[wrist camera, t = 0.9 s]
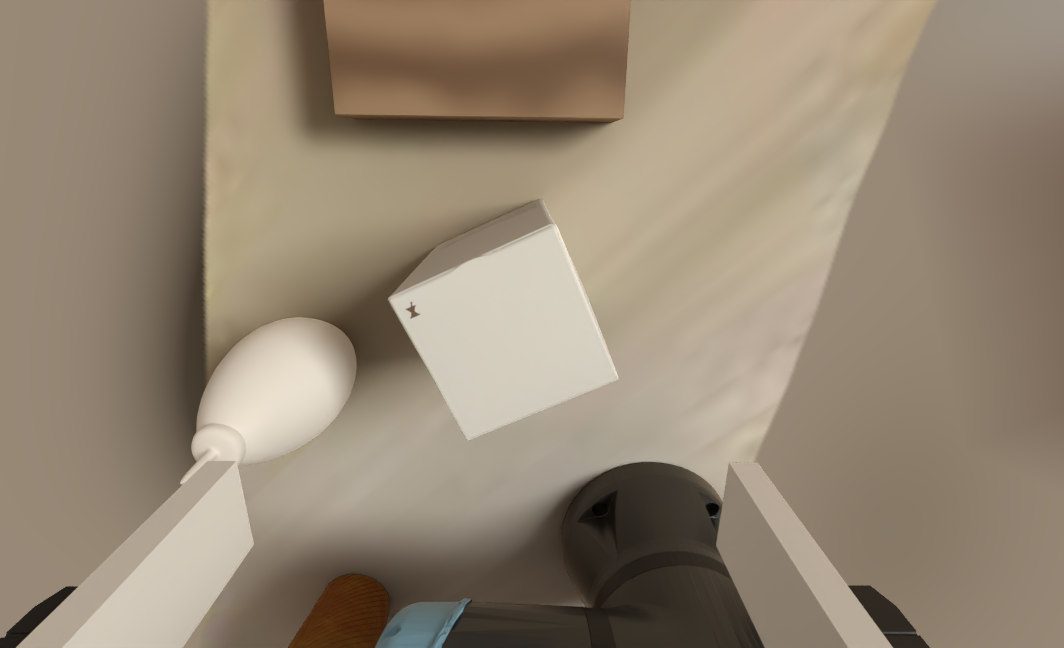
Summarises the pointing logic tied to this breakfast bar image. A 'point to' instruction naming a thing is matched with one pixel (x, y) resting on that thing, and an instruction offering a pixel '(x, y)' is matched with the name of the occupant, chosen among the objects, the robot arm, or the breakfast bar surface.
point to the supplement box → (504, 322)
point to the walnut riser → (479, 59)
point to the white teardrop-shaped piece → (274, 392)
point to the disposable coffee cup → (346, 615)
